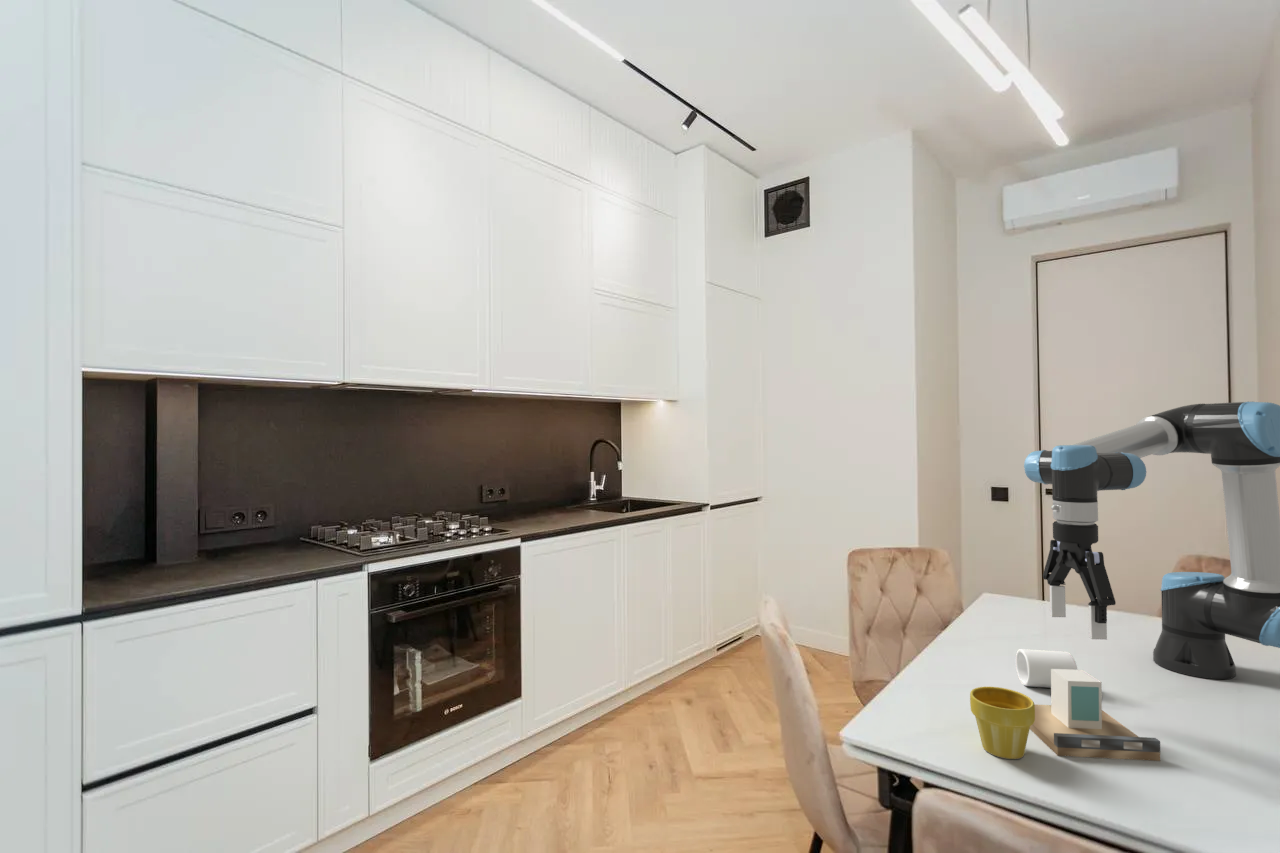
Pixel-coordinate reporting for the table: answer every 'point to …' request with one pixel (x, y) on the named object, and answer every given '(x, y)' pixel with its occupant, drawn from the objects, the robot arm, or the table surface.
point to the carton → (1076, 698)
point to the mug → (1041, 666)
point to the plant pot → (1002, 720)
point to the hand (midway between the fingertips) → (1076, 627)
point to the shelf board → (1093, 738)
